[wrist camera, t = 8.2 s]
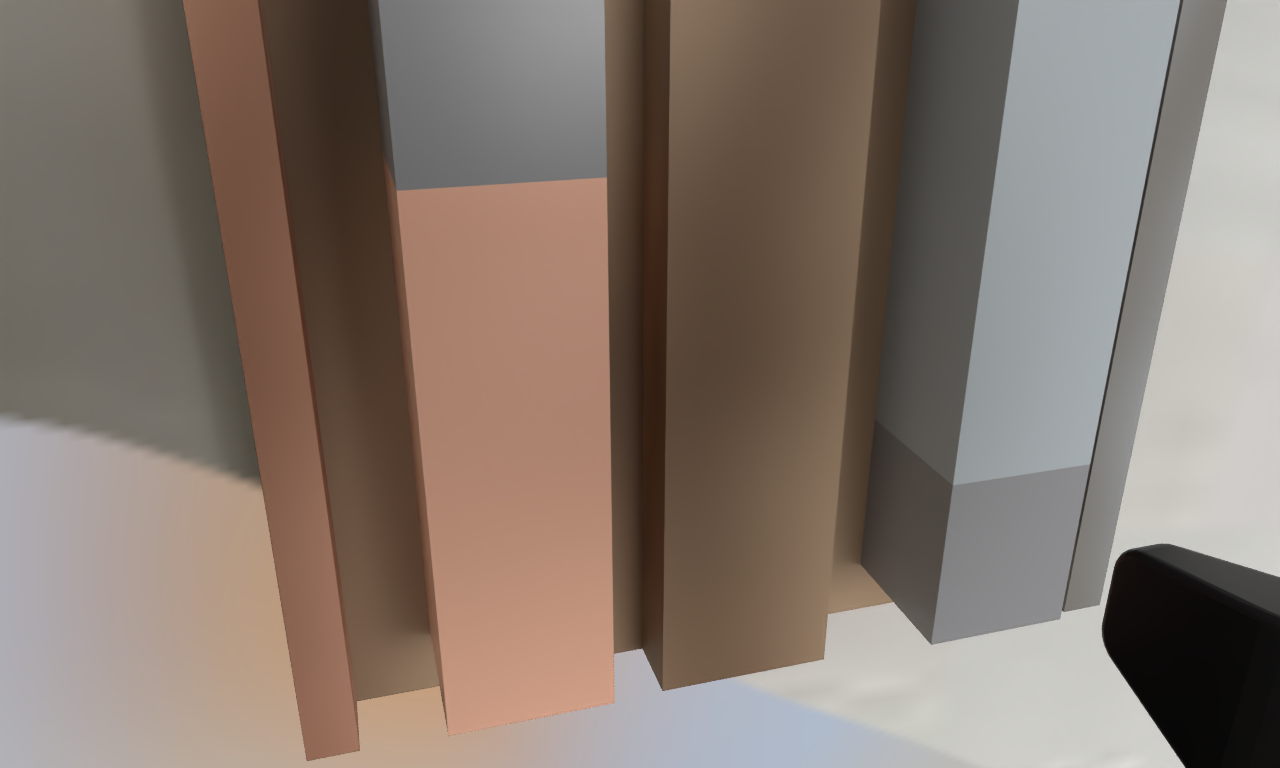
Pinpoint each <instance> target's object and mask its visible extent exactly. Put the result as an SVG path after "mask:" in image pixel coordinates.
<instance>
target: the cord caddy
mask: <svg viewBox="0 0 1280 768" xmlns="http://www.w3.org/2000/svg"><path fill="white" fill-rule="evenodd" d="M916 2H917V0H604V15H605V84H606V154H607V223H608V293H609V362H610V432H611V502H612V571H613V641H614V654H615V653H620V652H625V651H630V650H636V649H642V648H643V650H644V652H645V655H646V657H647V659H648V661H649V663H650V665H651V667H652V670H653V672H654V674H655V676H656V678H657V680H658V682H659V684H660V687H661V688H662V690H663V691H665V690H670V689H675V688H680V687H685V686H690V685H695V684H701V683H706V682H711V681H716V680H721V679H726V678H731V677H736V676H741V675H746V674H751V673H756V672H761V671H767V670H772V669H777V668H782V667H787V666H792V665H797V664H802V663H807V662H812V661H817V660H822V659H824V651H825V639H826V628H827V616H828V614H831V613H836V612H842V611H847V610H853V609H858V608H863V607H869V606H874V605H880V604H885V603H890V602H893V601H892V600H891V598H890V597H889V596H888V595H887V594H886V593H885V592H884V591H883V589H882V588H881V587H880V586H879V585H878V584H877V583H876V581H875V580H874V579H873V578H872V577H871V576H870V575H869V574H868V572H867V571H866V570H865V569H864V568H863V567H862V566H861V554H862V544H863V533H864V523H865V513H866V503H867V493H868V483H869V473H870V463H871V453H872V443H873V433H874V423H875V413H876V403H877V393H878V383H879V373H880V363H881V353H882V343H883V333H884V323H885V313H886V303H887V293H888V283H889V273H890V263H891V253H892V243H893V233H894V223H895V213H896V203H897V193H898V183H899V172H900V162H901V152H902V142H903V132H904V122H905V112H906V102H907V92H908V82H909V72H910V62H911V52H912V42H913V32H914V22H915V12H916ZM1226 3H1227V0H1180V3H1179V9H1178V14H1177V19H1176V24H1175V29H1174V34H1173V40H1172V45H1171V50H1170V55H1169V60H1168V65H1167V70H1166V76H1165V81H1164V86H1163V91H1162V96H1161V101H1160V107H1159V112H1158V117H1157V122H1156V127H1155V132H1154V137H1153V143H1152V148H1151V153H1150V158H1149V163H1148V168H1147V174H1146V179H1145V184H1144V189H1143V194H1142V199H1141V204H1140V210H1139V215H1138V220H1137V225H1136V230H1135V235H1134V241H1133V246H1132V251H1131V256H1130V261H1129V266H1128V271H1127V277H1126V282H1125V287H1124V292H1123V297H1122V302H1121V308H1120V313H1119V318H1118V323H1117V328H1116V333H1115V338H1114V344H1113V349H1112V354H1111V359H1110V364H1109V369H1108V375H1107V380H1106V385H1105V390H1104V395H1103V400H1102V405H1101V411H1100V416H1099V421H1098V426H1097V431H1096V436H1095V442H1094V447H1093V452H1092V457H1091V462H1090V467H1089V472H1088V478H1087V483H1086V488H1085V493H1084V498H1083V503H1082V508H1081V514H1080V519H1079V524H1078V529H1077V534H1076V539H1075V545H1074V550H1073V555H1072V560H1071V565H1070V570H1069V575H1068V581H1067V586H1066V591H1065V596H1064V601H1063V606H1062V611H1064V612H1066V611H1071V610H1076V609H1081V608H1086V607H1091V606H1096V605H1100V600H1101V596H1102V591H1103V586H1104V581H1105V577H1106V572H1107V567H1108V562H1109V558H1110V553H1111V548H1112V543H1113V539H1114V534H1115V529H1116V524H1117V520H1118V515H1119V510H1120V506H1121V501H1122V496H1123V491H1124V487H1125V482H1126V477H1127V472H1128V468H1129V463H1130V458H1131V453H1132V449H1133V444H1134V439H1135V434H1136V430H1137V425H1138V420H1139V415H1140V411H1141V406H1142V401H1143V396H1144V392H1145V387H1146V382H1147V377H1148V373H1149V368H1150V363H1151V358H1152V354H1153V349H1154V344H1155V340H1156V335H1157V330H1158V325H1159V321H1160V316H1161V311H1162V306H1163V302H1164V297H1165V292H1166V287H1167V283H1168V278H1169V273H1170V268H1171V264H1172V259H1173V254H1174V249H1175V245H1176V240H1177V235H1178V230H1179V226H1180V221H1181V216H1182V211H1183V207H1184V202H1185V197H1186V192H1187V188H1188V183H1189V178H1190V174H1191V169H1192V164H1193V159H1194V155H1195V150H1196V145H1197V140H1198V136H1199V131H1200V126H1201V121H1202V117H1203V112H1204V107H1205V102H1206V98H1207V93H1208V88H1209V83H1210V79H1211V74H1212V69H1213V64H1214V60H1215V55H1216V50H1217V45H1218V41H1219V36H1220V31H1221V26H1222V22H1223V17H1224V12H1225V8H1226ZM183 5H184V11H185V17H186V23H187V29H188V35H189V41H190V48H191V54H192V60H193V66H194V72H195V78H196V84H197V91H198V97H199V103H200V109H201V115H202V121H203V127H204V133H205V140H206V146H207V152H208V158H209V164H210V170H211V176H212V183H213V189H214V195H215V201H216V207H217V213H218V219H219V225H220V232H221V238H222V244H223V250H224V256H225V262H226V268H227V275H228V281H229V287H230V293H231V299H232V305H233V311H234V317H235V324H236V330H237V336H238V342H239V348H240V354H241V360H242V367H243V373H244V379H245V385H246V391H247V397H248V403H249V409H250V416H251V422H252V428H253V434H254V440H255V446H256V452H257V459H258V465H259V471H260V477H261V483H262V489H263V495H264V501H265V508H266V513H267V520H268V526H269V532H270V538H271V544H272V550H273V557H274V563H275V569H276V575H277V581H278V587H279V593H280V600H281V606H282V611H283V617H284V623H285V630H286V636H287V643H288V649H289V655H290V661H291V667H292V673H293V679H294V685H295V692H296V698H297V703H298V710H299V716H300V722H301V728H302V735H303V741H304V747H305V753H306V759H307V761H310V760H315V759H320V758H325V757H330V756H335V755H340V754H345V753H350V752H355V751H360V746H359V730H358V715H357V701H361V700H366V699H371V698H377V697H382V696H387V695H393V694H398V693H404V692H409V691H414V690H420V689H425V688H431V687H436V686H440V685H439V679H438V673H437V668H436V662H435V656H434V651H433V645H432V639H431V633H430V623H429V613H428V603H427V593H426V583H425V573H424V563H423V553H422V543H421V532H420V522H419V512H418V502H417V492H416V482H415V472H414V462H413V452H412V442H411V432H410V422H409V412H408V401H407V391H406V381H405V371H404V361H403V351H402V341H401V331H400V321H399V311H398V301H397V291H396V281H395V270H394V260H393V250H392V240H391V230H390V220H389V210H388V200H387V190H386V180H385V170H384V160H383V150H382V139H381V129H380V119H379V109H378V99H377V89H376V79H375V69H374V59H373V49H372V39H371V29H370V19H369V8H368V0H183Z"/></svg>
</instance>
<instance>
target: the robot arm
mask: <svg viewBox="0 0 1280 768" xmlns="http://www.w3.org/2000/svg"><path fill="white" fill-rule="evenodd" d="M1102 638H1103V642H1104V646H1105V648H1106V650H1107V653H1108V655H1109V656H1110V658H1111V660H1112V661H1113V662H1114V664H1115V665H1116V667H1117V668H1118V670H1119V671H1120V673H1121V674H1122V676H1123V677H1124V679H1125V680H1126V681H1127V683H1128V684H1129V686H1130V687H1131V689H1132V690H1133V692H1134V693H1135V695H1136V696H1137V698H1138V699H1139V700H1140V702H1141V703H1142V705H1143V706H1144V708H1145V709H1146V711H1147V712H1148V714H1149V715H1150V717H1151V718H1152V719H1153V721H1154V722H1155V724H1156V725H1157V727H1158V728H1159V730H1160V731H1161V733H1162V734H1163V736H1164V737H1165V738H1166V740H1167V741H1168V743H1169V744H1170V746H1171V747H1172V749H1173V750H1174V752H1175V753H1176V755H1177V756H1178V757H1179V759H1180V760H1181V762H1182V763H1183V765H1184V766H1185V768H1280V577H1277V576H1274V575H1271V574H1267V573H1264V572H1261V571H1257V570H1254V569H1251V568H1248V567H1244V566H1241V565H1238V564H1234V563H1231V562H1228V561H1225V560H1221V559H1218V558H1215V557H1211V556H1208V555H1205V554H1201V553H1198V552H1195V551H1192V550H1188V549H1185V548H1182V547H1178V546H1175V545H1171V544H1155V545H1150V546H1145V547H1139V548H1134V549H1130V550H1127V551H1125V552H1124V553H1122V554H1121V555H1120V557H1119V558H1118V560H1117V561H1116V563H1115V566H1114V571H1113V575H1112V580H1111V585H1110V589H1109V594H1108V599H1107V604H1106V608H1105V613H1104V618H1103V623H1102Z"/></svg>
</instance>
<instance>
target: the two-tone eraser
mask: <svg viewBox="0 0 1280 768" xmlns="http://www.w3.org/2000/svg"><path fill="white" fill-rule="evenodd" d="M368 8H369V19H370V29H371V39H372V49H373V59H374V69H375V79H376V89H377V99H378V109H379V119H380V129H381V139H382V150H383V160H384V170H385V180H386V190H387V200H388V210H389V220H390V230H391V240H392V250H393V260H394V270H395V281H396V291H397V301H398V311H399V321H400V331H401V341H402V351H403V361H404V371H405V381H406V391H407V401H408V412H409V422H410V432H411V442H412V452H413V462H414V472H415V482H416V492H417V502H418V512H419V522H420V532H421V543H422V553H423V563H424V573H425V583H426V593H427V603H428V613H429V623H430V633H431V639H432V645H433V651H434V656H435V662H436V668H437V673H438V679H439V685H440V690H441V696H442V701H443V707H444V712H445V719H446V724H447V730H448V735H449V736H451V735H456V734H461V733H466V732H471V731H476V730H481V729H486V728H491V727H496V726H501V725H506V724H511V723H516V722H521V721H526V720H531V719H536V718H541V717H546V716H551V715H556V714H561V713H566V712H571V711H576V710H581V709H586V708H591V707H596V706H601V705H606V704H611V703H614V641H613V571H612V502H611V432H610V362H609V293H608V223H607V154H606V84H605V15H604V0H368Z"/></svg>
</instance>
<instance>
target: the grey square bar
mask: <svg viewBox="0 0 1280 768" xmlns="http://www.w3.org/2000/svg"><path fill="white" fill-rule="evenodd" d="M1179 3H1180V0H917V2H916V12H915V22H914V32H913V42H912V52H911V62H910V72H909V82H908V92H907V102H906V112H905V122H904V132H903V142H902V152H901V162H900V172H899V183H898V193H897V203H896V213H895V223H894V233H893V243H892V253H891V263H890V273H889V283H888V293H887V303H886V313H885V323H884V333H883V343H882V353H881V363H880V373H879V383H878V393H877V403H876V413H875V423H874V433H873V443H872V453H871V463H870V473H869V483H868V493H867V503H866V513H865V523H864V533H863V544H862V554H861V566H862V567H863V568H864V569H865V570H866V571H867V572H868V574H869V575H870V576H871V577H872V578H873V579H874V580H875V581H876V583H877V584H878V585H879V586H880V587H881V588H882V589H883V591H884V592H885V593H886V594H887V595H888V596H889V597H890V598H891V600H892V601H893V602H894V603H895V604H896V605H897V606H898V608H899V609H900V610H901V611H902V612H903V613H904V614H905V615H906V617H907V618H908V619H909V620H910V621H911V622H912V623H913V625H914V626H915V627H916V628H917V629H918V630H919V631H920V632H921V634H922V635H923V636H924V637H925V638H926V639H927V640H928V642H929V643H930V644H931V645H932V644H937V643H942V642H947V641H952V640H957V639H962V638H967V637H972V636H977V635H982V634H987V633H992V632H997V631H1002V630H1007V629H1013V628H1018V627H1023V626H1028V625H1033V624H1038V623H1043V622H1048V621H1053V620H1058V619H1060V617H1061V612H1062V606H1063V601H1064V596H1065V591H1066V586H1067V581H1068V575H1069V570H1070V565H1071V560H1072V555H1073V550H1074V545H1075V539H1076V534H1077V529H1078V524H1079V519H1080V514H1081V508H1082V503H1083V498H1084V493H1085V488H1086V483H1087V478H1088V472H1089V467H1090V462H1091V457H1092V452H1093V447H1094V442H1095V436H1096V431H1097V426H1098V421H1099V416H1100V411H1101V405H1102V400H1103V395H1104V390H1105V385H1106V380H1107V375H1108V369H1109V364H1110V359H1111V354H1112V349H1113V344H1114V338H1115V333H1116V328H1117V323H1118V318H1119V313H1120V308H1121V302H1122V297H1123V292H1124V287H1125V282H1126V277H1127V271H1128V266H1129V261H1130V256H1131V251H1132V246H1133V241H1134V235H1135V230H1136V225H1137V220H1138V215H1139V210H1140V204H1141V199H1142V194H1143V189H1144V184H1145V179H1146V174H1147V168H1148V163H1149V158H1150V153H1151V148H1152V143H1153V137H1154V132H1155V127H1156V122H1157V117H1158V112H1159V107H1160V101H1161V96H1162V91H1163V86H1164V81H1165V76H1166V70H1167V65H1168V60H1169V55H1170V50H1171V45H1172V40H1173V34H1174V29H1175V24H1176V19H1177V14H1178V9H1179Z"/></svg>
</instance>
